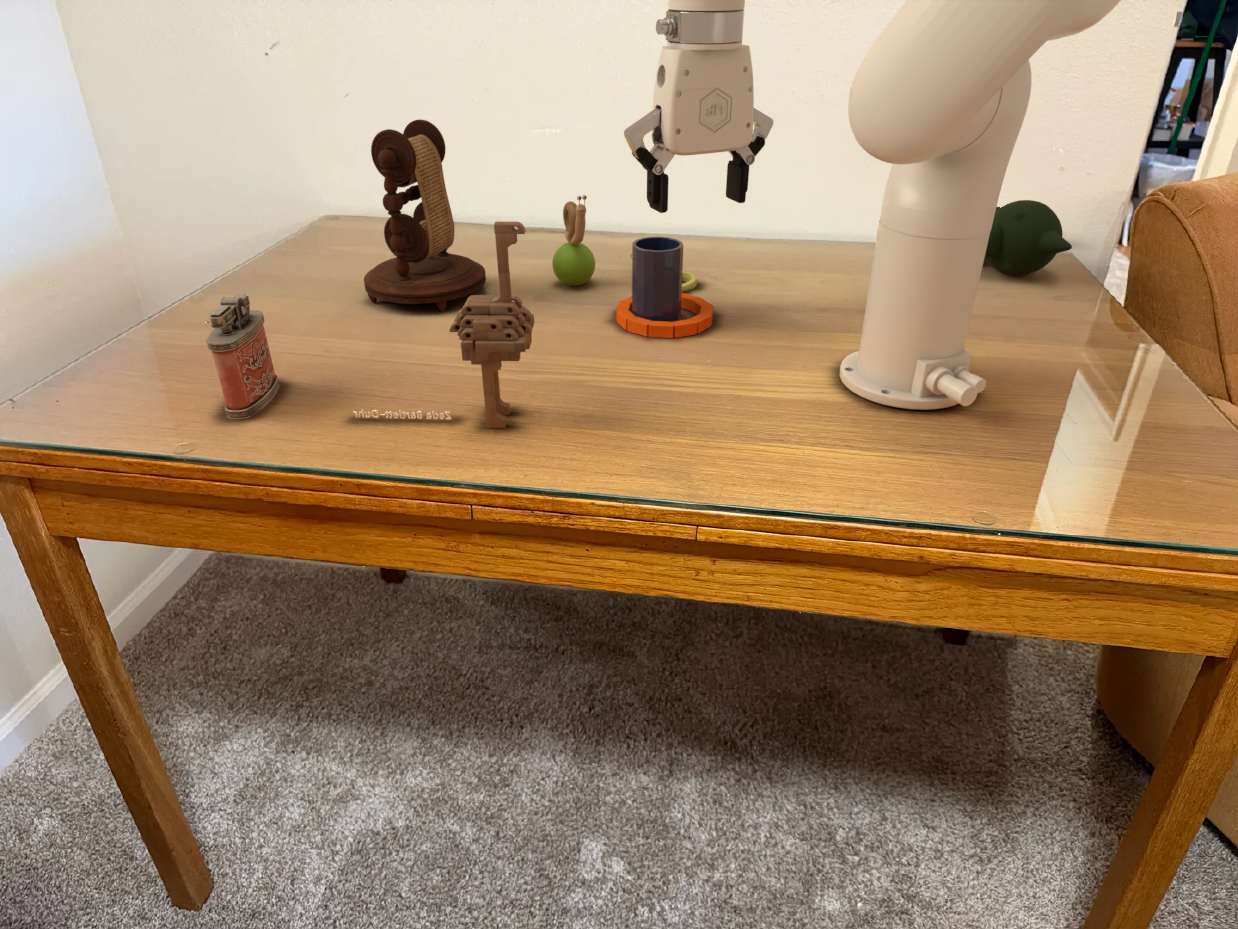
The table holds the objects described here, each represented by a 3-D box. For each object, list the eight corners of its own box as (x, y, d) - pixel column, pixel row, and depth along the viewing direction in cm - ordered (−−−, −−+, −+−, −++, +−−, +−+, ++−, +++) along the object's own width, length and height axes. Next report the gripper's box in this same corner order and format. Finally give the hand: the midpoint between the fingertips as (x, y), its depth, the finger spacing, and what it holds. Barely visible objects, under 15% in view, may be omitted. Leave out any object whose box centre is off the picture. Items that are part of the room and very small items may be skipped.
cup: (688, 325, 97) (692, 247, 92) (644, 333, 95) (645, 254, 90) (666, 309, 101) (668, 234, 96) (624, 316, 99) (624, 240, 95)
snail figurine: (564, 296, 105) (561, 198, 99) (547, 281, 110) (542, 186, 104) (605, 290, 107) (603, 193, 100) (586, 275, 112) (584, 182, 106)
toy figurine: (918, 188, 122) (1014, 207, 100) (1040, 187, 125) (1161, 206, 102) (909, 254, 126) (999, 287, 103) (1028, 252, 128) (1142, 284, 106)
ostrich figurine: (542, 403, 80) (531, 211, 71) (534, 438, 74) (521, 234, 65) (365, 401, 81) (332, 210, 71) (344, 435, 75) (304, 233, 66)
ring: (729, 328, 96) (730, 317, 95) (640, 343, 92) (640, 331, 91) (685, 297, 104) (686, 286, 104) (603, 310, 101) (603, 299, 100)
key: (644, 262, 116) (644, 247, 115) (703, 287, 108) (704, 271, 106) (601, 273, 112) (601, 257, 111) (659, 299, 104) (660, 283, 103)
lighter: (253, 381, 85) (229, 284, 79) (287, 381, 84) (264, 284, 79) (218, 419, 78) (189, 316, 72) (254, 419, 78) (228, 316, 72)
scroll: (451, 321, 98) (431, 139, 87) (342, 307, 102) (310, 131, 92) (506, 281, 110) (494, 116, 99) (406, 269, 114) (384, 110, 103)
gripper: (643, 36, 78) (641, 222, 87) (799, 30, 84) (782, 204, 93) (610, 31, 84) (611, 205, 93) (758, 25, 90) (746, 189, 99)
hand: (697, 204), depth 93 cm, fingers open, 9 cm apart
